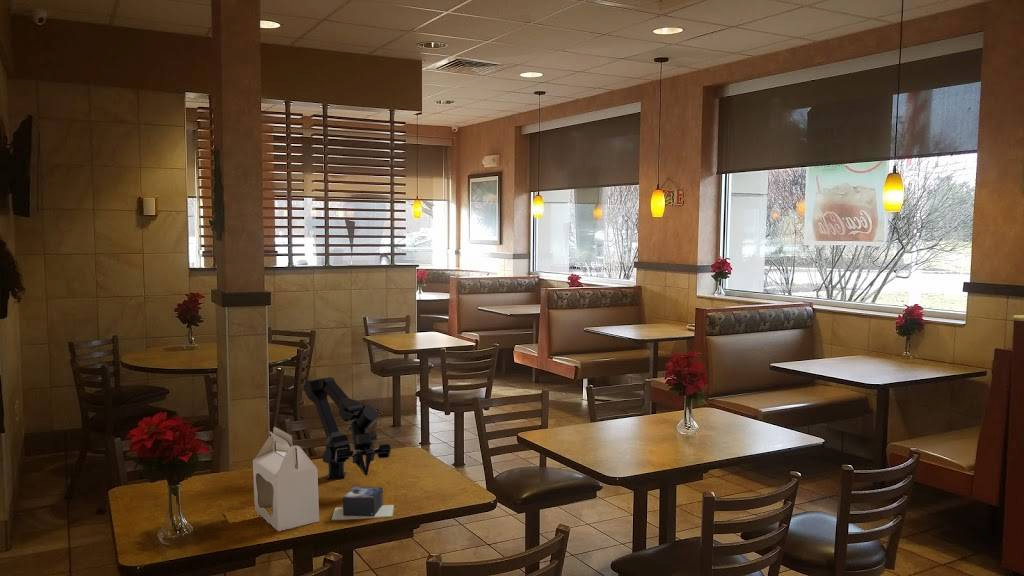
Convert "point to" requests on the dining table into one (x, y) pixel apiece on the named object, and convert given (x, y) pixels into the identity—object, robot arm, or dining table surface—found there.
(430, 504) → the dining table surface
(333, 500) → the dining table surface
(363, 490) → the small box
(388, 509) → the mat
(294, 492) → the gable box
